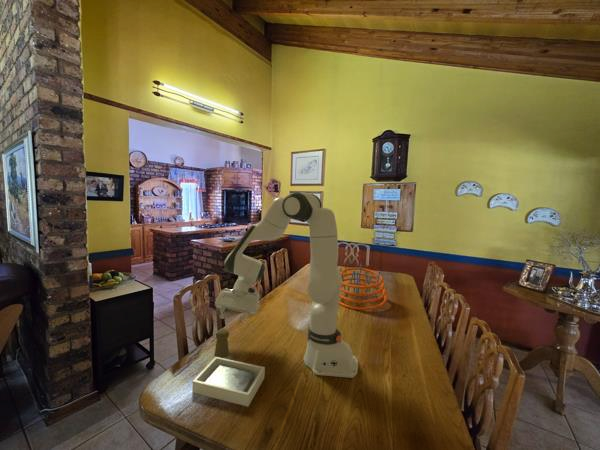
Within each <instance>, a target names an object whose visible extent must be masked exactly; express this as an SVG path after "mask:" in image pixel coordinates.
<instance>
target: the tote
mask: <svg viewBox="0 0 600 450" xmlns="http://www.w3.org/2000/svg"><path fill="white" fill-rule="evenodd" d="M220 365H222V366H226V367H231V368H235V369H240V370H244V371H249V372H253V373H255V380H254V381H253V383H252V385H251V386H250V388H249V390H248V391H247V392H243V391H239V390H235V389H231V388H227V387H223V386H219V385H214V384H210V383H206V381H207V379H208V378H209V377H210V376H211V375H212V374H213V373H214V371H215V370H216V369H217V368H218V367H219V366H220ZM265 373H266V367H265V366H260V365H256V364H252V363H248V362H247V363H246V362H242V361H238V360H232V359H228V358H225V357H224V358H220V357H215V356H214V358H212V360H211V361H210V362H209V363H208V364H207V365H206V366H205V368H204V369H202V371H201V372H200V373H199V374H198V375H197V376H195V378H194V379H193V380H192V393H193V394H197V395H201V396H204V397H209V398H211V399H212V398H213V399H217V400H219V401H225V402H228V403H232V404H236V405H239V406H244V407H247V408H249V406H250V405H251V403H252V401H253V399H254V398H255V395H256V393H257V392H258V390H259V388H260V386H261V385H262V383H263V381H264V380H265V378H266V377H265V375H266V374H265Z"/></svg>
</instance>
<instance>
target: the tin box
mask: <svg viewBox="0 0 600 450" xmlns="http://www.w3.org/2000/svg"><path fill="white" fill-rule="evenodd" d="M254 380H255V373H253V372H249V371H244V370H240V369H235V368H231V367H226V366H222V365H220V366H219V367H218V368H217V369H216V370H215V371H214V373H213V374H212V375H211V376H210V377H209V378H208V379H207V381H206V383H210V384H214V385H219V386H223V387H227V388H231V389H235V390H239V391H243V392H247V391H248V390H249V388H250V386H251V385H252V383H253V381H254Z"/></svg>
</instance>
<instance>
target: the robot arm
mask: <svg viewBox="0 0 600 450" xmlns="http://www.w3.org/2000/svg"><path fill="white" fill-rule="evenodd" d="M291 220H294V221H298V222H302V223H307V224H308V226H309V229H308V230H309V246H310V249H309V250H310V260H309V261H310V263H309V270H308V271H309V274H308V284H307V295H308V297H309V298H310V300H311V301H312V302H311V307H310V310H309V311H310V312H309V314H310V315H309V316H310V317H309V325H308V328H307V346H306V350H305V353H304V355H303V359H302V360H303V362H304V364H305V365H306V367H308V368H309V369H310V370H311V371H312V372H313V374H314V375H316V376H324V377H326V376H327V377H336V378H337V377H338V378H350V379H353V378H354V377H356V376H357V375H358V371H359V362H358V359H357V357H356V356H355V355H354V354H353V350H352V347H351V346H350V344H348V343H347V342H346V341H344V339H342V333H341V332H342V331H341V329H339V330H338V328H337V327H338V326H337V325H338V312H339V306H340V304H339V301H340V299H341V297H340V294H341V292H342V291H341V288H342V287H341V284H342V275H341V271H340V268H338V262H339V261H338V260H339V241H338V226H337V222H336V221H337V220H336V216H335V213H334V211H333V210H331V209H330V208H327V207H323V204H322V201H321V199H320V197H318V195H316V194H313V193H308V192H305V191H303V192H302V191H301V192H297V191H296V192H295V191H294V192H292V193H289V194H287V195H286V196H285V197H282V196H281V197H280V196H279V197H276V198H274V199H273V201H272V202H271V203H270V205H269V207H268V208H267V210H266V211H265V213H264V215H263V218H262V219H261V220H260V221H259V222H257V223H252V224H251V225H250V226H249V227H248V229H246V231H245V232H244V234H242V236H241V238H240V239H239V241H238V242H237V243H236V245H235V247H234V248H233V249H232V251H230V253H229V254H227V257H226V258H225V259H224V263H223V266H224V269H225V271H226V272H227V273H230V274H233V275H237V276H238V278H237V279H236V281H235V282H234V284H233V288H232V289H230V288H223V289H221V290H220V292H219V294H218V296H217V298H216V300H215V302H214V305H215V307H217V308H218V309H219V313H220V315H219V318H220V319H223V320H224V319H225V316H226V314H224V312H225V311H226V310H229V311H234V312H241V313H243V315H242V316H240V317H239V320H238V321H239V322H240V323H244V322H245V321H244V320H245V319H247V318H248V316H249V315H250V314H251V315H256V314H257V313H258V312H259V309H260V302H261V301H260V299H261V294H260V292H259V290H257V289H256V288H254V284H255V283H257V282H259V281H261V280H262V279H263V275H264V272H265V270H266V267H265V264H264V262H262V261H261V260H259V259H257V258H253V257H251V256H249V255H246V254H244V253H243V252H244V251H245V249H246V248H248V246H249V244H250V243H252V242H253V241H267V242H269V241H270V242H271V241H276V240H278V239H280V238H281V237H282V236H283V235H284V233H285V232H286V229H287V228H288V226H289V224H290V222H291Z"/></svg>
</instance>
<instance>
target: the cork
mask: <svg viewBox="0 0 600 450" xmlns="http://www.w3.org/2000/svg"><path fill="white" fill-rule="evenodd" d="M229 335H230V333H229V330H228V329H225V328H222V329H219V330H217V331H216V333H215V340H216V342H215V350H214V358H215V357H220V358H224V359H225V358H226V357H228V356H229V354H230V351H229V350H230V349H229V342H228V339H229Z"/></svg>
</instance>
